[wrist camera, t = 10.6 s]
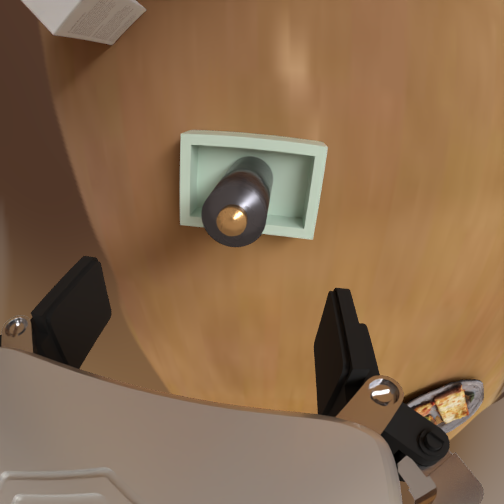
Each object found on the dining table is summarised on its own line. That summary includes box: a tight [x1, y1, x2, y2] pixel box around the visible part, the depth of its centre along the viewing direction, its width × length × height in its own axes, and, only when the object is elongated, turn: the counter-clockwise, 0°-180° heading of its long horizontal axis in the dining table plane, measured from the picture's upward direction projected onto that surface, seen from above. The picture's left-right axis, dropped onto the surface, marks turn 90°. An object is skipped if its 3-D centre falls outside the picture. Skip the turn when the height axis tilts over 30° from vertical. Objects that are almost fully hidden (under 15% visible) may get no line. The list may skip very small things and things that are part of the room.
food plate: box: [406, 379, 484, 433], centre depth 47 cm, size 25×23×4 cm
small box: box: [21, 0, 146, 45], centre depth 17 cm, size 8×6×10 cm
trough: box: [180, 130, 328, 240], centre depth 29 cm, size 9×13×4 cm
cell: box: [201, 156, 273, 247], centre depth 25 cm, size 4×4×11 cm
